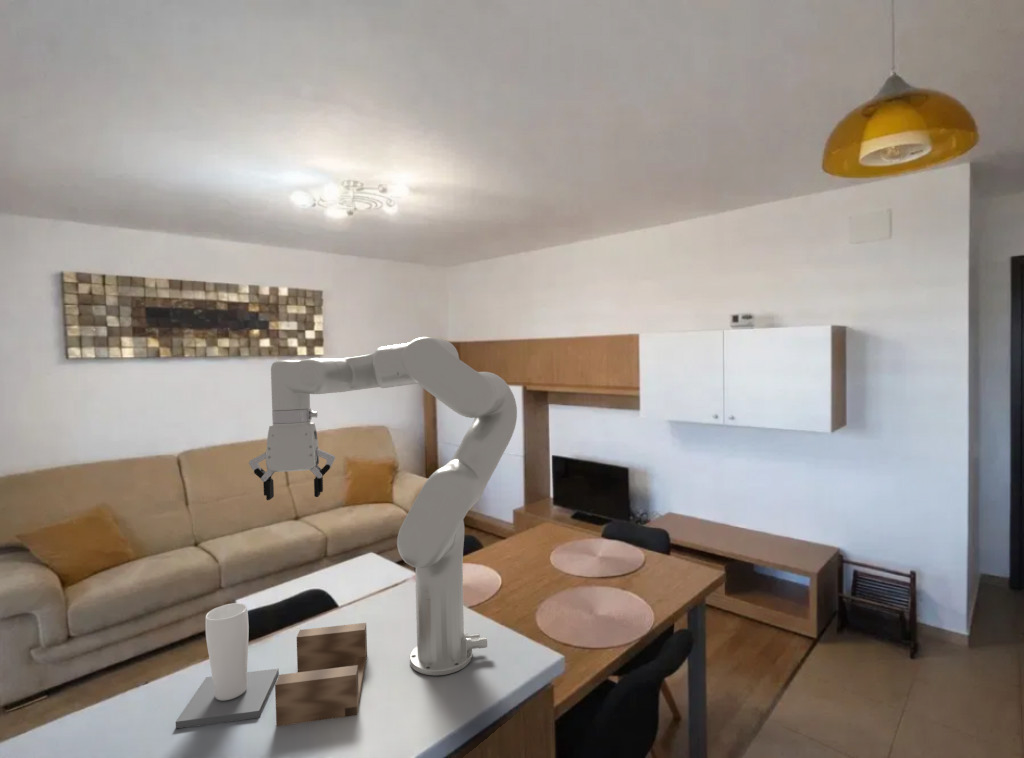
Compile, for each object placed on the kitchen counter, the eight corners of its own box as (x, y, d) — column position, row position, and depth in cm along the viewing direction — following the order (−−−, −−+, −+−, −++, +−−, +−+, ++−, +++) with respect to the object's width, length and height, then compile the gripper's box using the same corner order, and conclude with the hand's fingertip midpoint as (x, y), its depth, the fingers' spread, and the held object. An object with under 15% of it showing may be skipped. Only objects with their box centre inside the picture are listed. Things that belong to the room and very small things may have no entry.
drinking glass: (236, 706, 91) (231, 620, 90) (200, 704, 92) (195, 619, 91) (260, 682, 97) (255, 602, 97) (226, 681, 98) (222, 602, 98)
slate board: (278, 674, 102) (278, 668, 102) (259, 717, 89) (259, 710, 89) (206, 683, 100) (206, 677, 100) (175, 728, 87) (175, 721, 87)
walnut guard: (367, 656, 108) (366, 622, 108) (357, 715, 90) (355, 674, 89) (300, 664, 106) (299, 629, 106) (276, 726, 87) (275, 684, 87)
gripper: (336, 414, 117) (338, 490, 118) (253, 417, 114) (256, 495, 114) (331, 417, 110) (333, 498, 110) (242, 421, 107) (245, 504, 107)
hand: (294, 497), depth 112 cm, fingers open, 9 cm apart
